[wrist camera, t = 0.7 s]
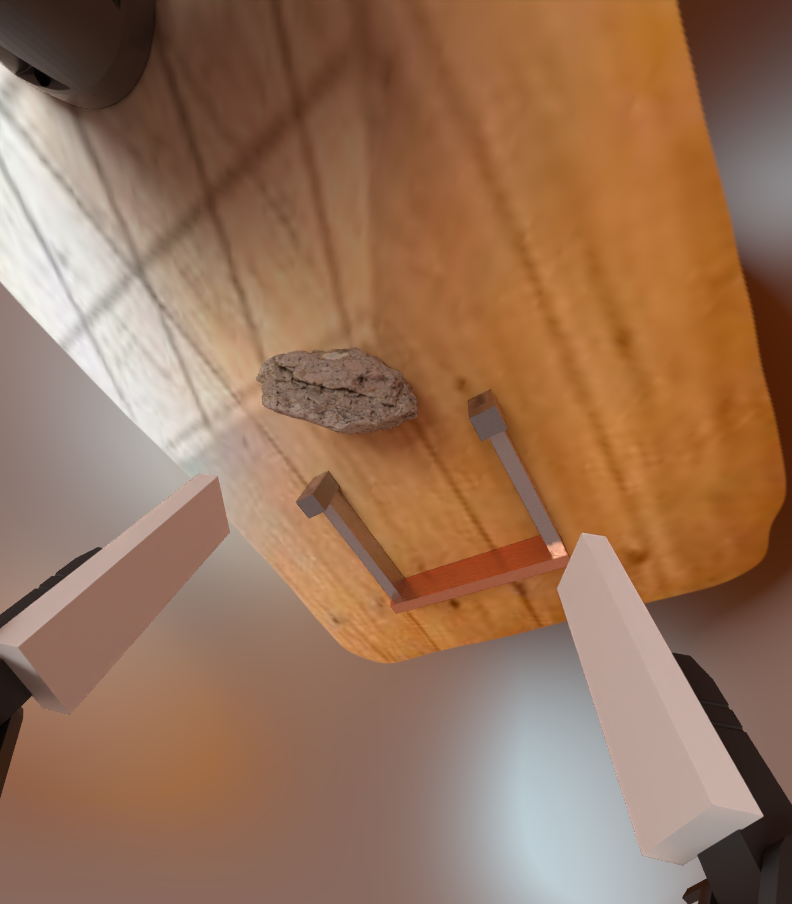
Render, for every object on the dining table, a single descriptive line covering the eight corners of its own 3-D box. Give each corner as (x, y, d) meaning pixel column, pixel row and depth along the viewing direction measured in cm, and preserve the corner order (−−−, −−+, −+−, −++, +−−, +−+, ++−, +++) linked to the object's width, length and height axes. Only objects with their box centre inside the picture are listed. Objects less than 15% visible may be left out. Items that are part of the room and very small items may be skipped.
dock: (313, 478, 41) (295, 502, 37) (490, 389, 33) (495, 405, 28) (398, 589, 47) (392, 621, 43) (566, 538, 39) (579, 571, 34)
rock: (437, 348, 26) (424, 451, 27) (417, 362, 36) (408, 437, 37) (250, 322, 24) (244, 433, 25) (284, 345, 34) (278, 423, 36)
